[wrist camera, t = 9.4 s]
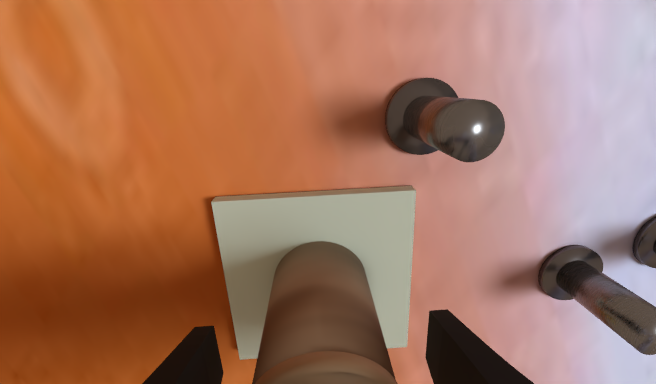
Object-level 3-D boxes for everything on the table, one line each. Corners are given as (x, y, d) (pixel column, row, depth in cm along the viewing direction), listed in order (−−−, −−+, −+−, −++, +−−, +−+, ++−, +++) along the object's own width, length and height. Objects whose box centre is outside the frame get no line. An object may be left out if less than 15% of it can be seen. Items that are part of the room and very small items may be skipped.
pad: (403, 337, 15) (407, 346, 15) (242, 349, 15) (239, 359, 14) (411, 185, 13) (416, 190, 12) (215, 196, 12) (211, 201, 12)
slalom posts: (671, 288, 15) (792, 355, 11) (381, 308, 15) (406, 386, 11) (820, -84, 10) (1122, -186, 6) (389, -74, 10) (439, -176, 6)
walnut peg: (367, 316, 14) (404, 476, 8) (277, 323, 14) (252, 489, 8) (367, 237, 13) (412, 363, 7) (267, 243, 12) (229, 376, 7)
